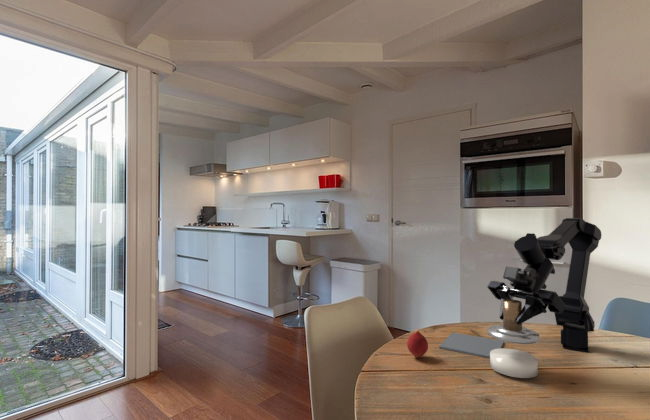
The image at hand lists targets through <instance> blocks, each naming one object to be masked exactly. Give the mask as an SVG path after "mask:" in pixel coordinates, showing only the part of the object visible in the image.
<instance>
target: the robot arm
mask: <svg viewBox="0 0 650 420" xmlns="http://www.w3.org/2000/svg"><path fill="white" fill-rule="evenodd" d="M561 221H562V222H561V223H560V224H559V225H558V226H556V228H555V229H554V230H552V231H551V232H550V233H549V234H547V235H543V236H539V237H537V235H536V234H535V233H534V232H533V233H532V232H531V233H529V232H527V233H526V234H525V235H524V236H521V237H519V238H518V239H517V240H515V241H514V243H513V246H514V249H515V250H516V253H517V254H518V256H519V257H520V259H521V260H522V262H523V263H524V264H526V266H525V268H519V267H512V266H505V270H504V272H503V277H502V278H503V279H504V280H505V279H507V280H508V281H509V284H510V286H511V287H513V288H510V287H509V286H508V285H506V283H505V282H503V281H498V280H490V281H489V283H488V285H487V286H486V288H487V289H488V290H489V291H490V293H491V294H492V295H493V296H494V298H495V299H497V300H498V301H499V300H500V310H499V319H500V320H501V321H503V300H505V299H512V300H514V298H517V299H521V300H524V301H525V302H524V305H523V306H522V310H521V312H520V314H519V316H518V318H517V320H516V323H517V324H518V325H520V324H521V323H522V324H523V323H525V322H526V321H528V320H530V319H532V318H534V317H536V316H538V315H541V314H546V313H547V312H548V311H549V312H550V313H554V319H555V323H556V326H559V327H562V328H561V329H560V345H562V348H563V349H567V350H573V351H579V352H580V351H581V352H585V353H589V352H590V349H589V333H590V332H595V327H596V326H595V320H594V319H593V317H592V315H591V313H590V307H589V305H588V303H587V301H586V299H585V293H586V292H585V291H586V286H587V281H588V280H587V279H588V271H589V266H590V265H589V264H590V259H591V254H592V253H593V252H594V251H595V250H596V249H598V247H599V243H600V240H601V239H602V230H601V229H600V228H599V227H598V226H597V225H596V224H593V223H591V222H588V221H586V220H584V219H583V218H580V217H566V218H563V219H562V220H561ZM567 244H569V246H570V247H571V249H572V250H571V257H570V264H569V269H568V275H567V276H568V277H567V282H566V288H565V293H564V294H563V295H558V293H557V292H556V291H552V290H548V289H546V288H547V287H548V286H547V284H546V282H547V280H548V279H549V276H550V275H555V274H556V269H555V268H554V264H553V263H552V261H551V260H553V261H559V260H560V261H561V259H562V258H563V256H565V254H566V248H565V246H566V245H567ZM547 309H548V311H547Z"/></svg>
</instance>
